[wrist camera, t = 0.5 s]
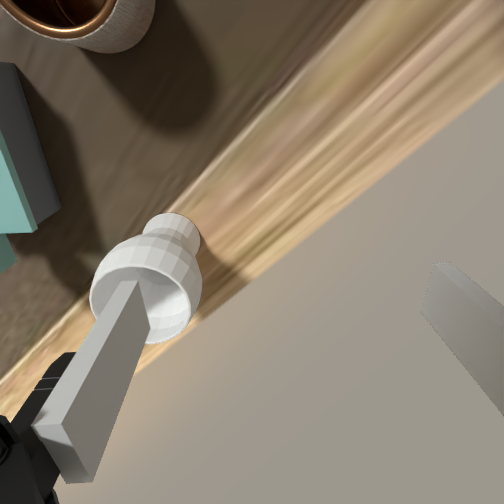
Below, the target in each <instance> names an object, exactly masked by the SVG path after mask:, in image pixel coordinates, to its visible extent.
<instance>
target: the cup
mask: <svg viewBox="0 0 504 504" xmlns="http://www.w3.org/2000/svg"><path fill="white" fill-rule="evenodd" d="M199 247H200V235H199V232H198V230H197V228H196V227H195V225H194V224H193V223H192V222H191V221H190V220H189V219H187V218H185V217H184V216H181V215H178V214H175V213H164V214H159V215H157V216H155V217H153V218H152V219H151V220H150V221H149V222H148V223H147V225H146V226H145V228H144V231H143V234H142V235H137V236H135V237H133V238H130V239H128V240H126V241H124V242H122V243H120V244H118V245H117V246H115V247H114V248H113V249H112V250H111V251H110V252H109V253H108V254H107V256H106V257H105V258H104V259H103V260H102V262H101V263H100V265H99V267H98V269H97V271H96V273H95V276H94V279H93V282H92V286H91V289H90V296H89V301H90V306H91V311H92V312H93V314H94V316H95V318H96V320H97V319H98V317H99V316H100V314H101V312H102V311H103V309H104V308H105V306H106V304H107V303H108V301H109V300H110V298H111V296H112V295H113V293H114V292H115V290H116V288H117V287H118V285H119V284H120V282H121V281H137V280H138V282H139V286H140V289H141V293H142V297H143V301H144V305H145V309H146V312H147V316H148V320H149V324H150V328H151V329H150V331H149V334H148V337H147V339H146V342H145V344H156V343H162V342H165V341H167V340H170V339H172V338H174V337H176V336H177V335H178V334H180V333H181V332H182V331H183V330H184V329H185V327H186V326H187V325H188V323H189V322H190V320H191V318H192V317H193V315H194V313H195V312H196V310H197V307H198V305H199V302H200V298H201V292H202V276H201V273H200V270H199V266H198V263H197V260H196V258H195V256H196V254H197V252H198V250H199Z"/></svg>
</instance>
